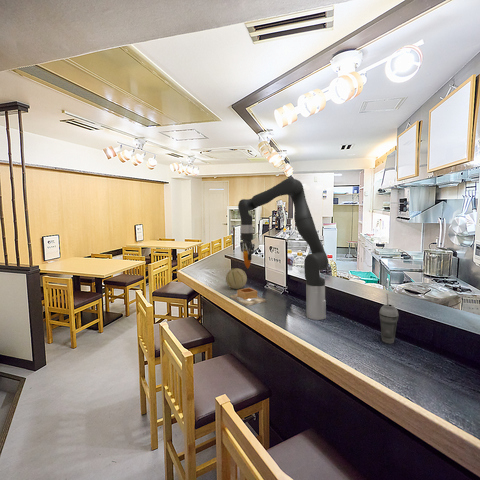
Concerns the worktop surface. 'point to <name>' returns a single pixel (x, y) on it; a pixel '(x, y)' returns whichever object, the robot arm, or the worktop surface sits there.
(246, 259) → the carrot
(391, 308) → the beverage cup
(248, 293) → the socket collar
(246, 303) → the base board
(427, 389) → the worktop surface
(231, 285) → the cantaloupe
